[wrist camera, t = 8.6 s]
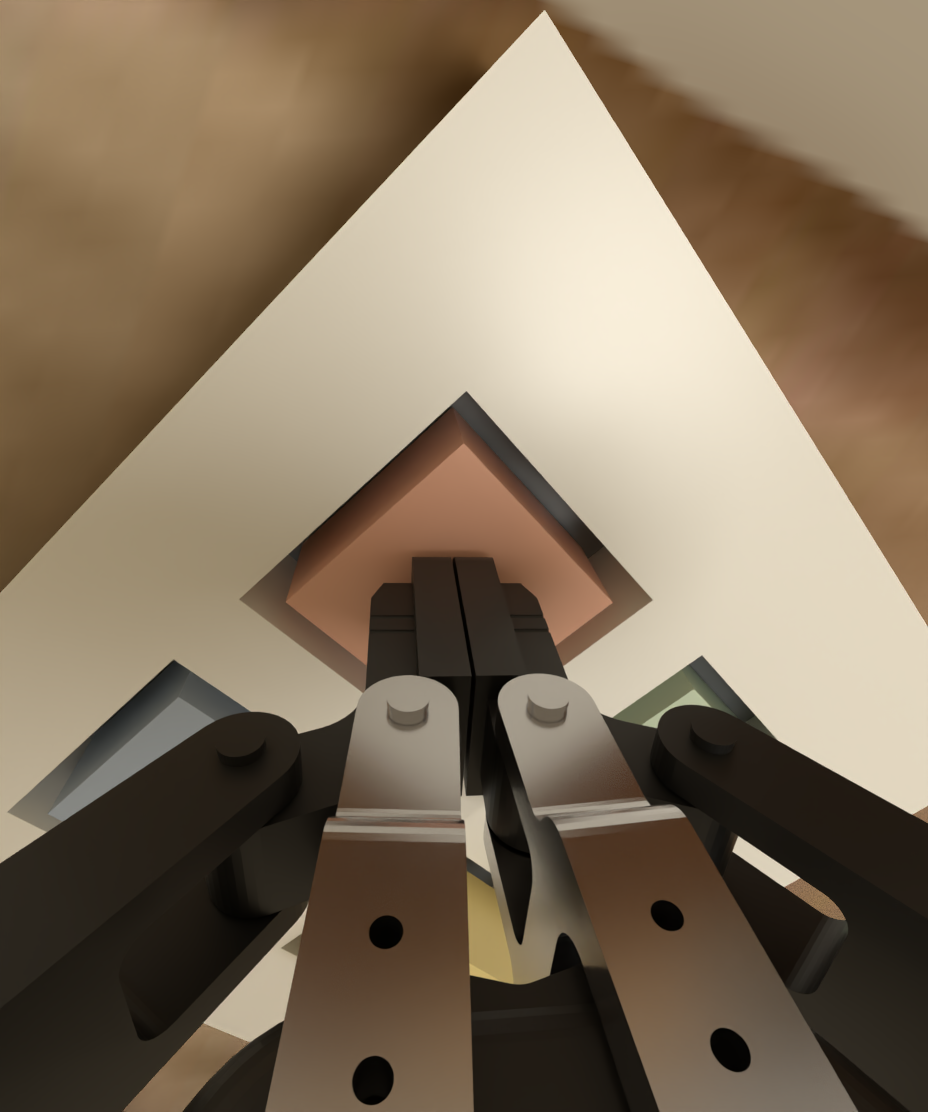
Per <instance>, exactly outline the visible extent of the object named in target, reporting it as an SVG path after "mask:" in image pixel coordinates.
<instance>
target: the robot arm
mask: <svg viewBox="0 0 928 1112" xmlns="http://www.w3.org/2000/svg"><path fill="white" fill-rule="evenodd" d="M463 777H464V785H465V793H466V796H480V795H483V798H484V804H485V811H486V814H485V824H484V834H483V840H484V846H485V850H486V855H487V859H488V863H489V867H490V872H491V876H492V880H493V885H494V889H495V893H496V898H497V902H498V906H499V911H500V915H501V919H502V924H503V928H504V932H505V936H506V941H507V945H508V949H509V954H510V959H511V964H512V971H513V982H514V984H510V983H506V982H501V981H496V980H491V979H486V978H482V977H477V976H472V975H470V966H469V931H468V896H467V862H466V832H465V822H464V820H461V796H462V788H463ZM738 836H739V837H740V838H742V839H743V840H745V841H746V842H748V843H749V844H751V845H752V846H754V847H755V848H757V849H758V850H760V851H761V852H763V853H764V854H766V855H767V856H769V857H770V858H772V859H773V860H775V861H776V862H778V863H779V864H781V865H782V866H784V867H785V868H787V869H788V870H790V871H791V872H792V873H794V874H795V875H797V876H798V877H800V878H801V879H803V880H804V881H806V882H807V883H809V884H810V885H812V886H813V887H815V888H816V889H818V890H819V891H821V892H822V893H824V894H825V895H826V896H828V897H829V898H830V899H831V900H832V901H833V902H834V903H835V904H836V905H837V906H838V907H839V909H840V910H841V912H842V913H843V915H844V917H845V919H846V920H837V919H833V918H830V917H828V916H826V915H824V914H822V913H821V912H819V911H818V910H816V909H815V908H813V907H812V906H810V905H809V904H808V903H806V902H805V901H803V900H802V899H800V898H799V897H797V896H796V895H795V894H793V893H792V892H790V891H789V890H787V889H786V888H784V887H783V886H782V885H780V884H779V883H777V882H776V881H774V880H773V879H771V878H770V877H769V876H767V875H766V874H764V873H763V872H761V871H760V870H758V869H757V868H756V867H754V866H753V865H751V864H750V863H748V862H747V861H746V860H744V859H743V858H741V857H740V856H738V855H737V854H735V853H734V852H733V849H734V846H735V844H736V841H737V838H738ZM307 905H308V907H307ZM306 907H307V912H306V917H305V922H304V926H303V931H302V936H301V941H300V946H299V951H298V956H297V960H296V965H295V970H294V975H293V980H292V985H291V989H290V994H289V999H288V1004H287V1009H286V1014H285V1019H284V1021H282V1022H280V1023H278V1024H277V1025H275V1026H274V1027H272V1028H270V1029H269V1030H267V1031H266V1032H264V1033H263V1034H261V1035H260V1036H258V1037H257V1038H255V1039H254V1040H253V1041H251V1042H250V1043H249V1044H248V1045H247V1046H245V1047H244V1048H243V1049H242V1050H240V1051H239V1052H238V1053H237V1054H236V1055H234V1056H233V1057H232V1058H231V1059H230V1060H229V1061H228V1062H227V1063H226V1064H225V1065H224V1066H223V1067H222V1068H221V1069H220V1070H219V1071H218V1072H217V1073H216V1074H215V1075H214V1076H213V1077H212V1078H211V1079H210V1080H209V1081H208V1082H207V1083H206V1084H205V1085H204V1086H203V1088H202V1089H201V1090H200V1091H199V1092H198V1093H197V1095H196V1096H195V1097H194V1098H193V1099H192V1101H191V1102H190V1103H189V1104H188V1106H187V1107H186V1108H185V1109H184V1111H183V1112H928V823H926V822H924V821H923V820H921V819H919V818H917V817H915V816H914V815H912V814H910V813H908V812H906V811H904V810H903V809H901V808H899V807H897V806H895V805H894V804H892V803H890V802H888V801H886V800H885V799H883V798H881V797H879V796H877V795H876V794H874V793H872V792H870V791H868V790H866V789H865V788H863V787H861V786H859V785H857V784H856V783H854V782H852V781H850V780H848V779H847V778H845V777H843V776H841V775H839V774H838V773H836V772H834V771H832V770H830V769H828V768H827V767H825V766H823V765H821V764H819V763H818V762H816V761H814V760H812V759H810V758H809V757H807V756H805V755H803V754H801V753H800V752H798V751H796V750H794V749H792V748H791V747H789V746H787V745H785V744H783V743H781V742H780V741H778V740H776V739H774V738H772V737H771V736H769V735H767V734H765V733H763V732H762V731H760V730H758V729H756V728H754V727H753V726H751V725H749V724H747V723H745V722H743V721H742V720H740V719H738V718H736V717H734V716H732V715H730V714H728V713H726V712H724V711H721V710H718V709H715V708H711V707H707V706H702V705H682V706H677V707H674V708H671V709H669V710H668V711H666V712H665V713H664V714H663V715H662V716H661V718H660V720H659V722H658V726H657V728H654V727H649V726H644V725H639V724H635V723H630V722H625V721H621V720H617V719H614V718H611V717H608V716H606V715H603V714H601V713H600V711H599V710H598V708H597V706H596V704H595V702H594V700H593V699H592V697H591V696H590V695H589V694H588V693H587V691H586V690H584V689H583V688H582V687H580V686H579V685H577V684H576V683H574V682H572V681H570V680H568V678H567V675H566V673H565V670H564V667H563V665H562V662H561V659H560V657H559V654H558V652H557V649H556V646H555V644H554V641H553V638H552V636H551V633H550V632H549V628H548V625H547V623H546V620H545V618H543V612H542V610H541V607H540V604H539V602H538V599H537V597H536V596H534V595H533V594H532V593H531V592H530V591H529V590H528V589H526V588H525V587H524V586H523V585H522V584H521V583H500V580H499V577H498V573H497V570H496V566H495V563H494V560H493V558H492V557H454V558H453V562H452V559H451V557H412V573H411V583H383V584H382V585H381V587H380V588H379V589H378V590H377V591H376V593H375V594H374V595H373V596H372V597H371V607H370V623H369V639H368V656H367V672H366V688H365V692H364V693H363V694H362V695H361V697H360V699H359V701H358V704H357V707H356V708H355V709H354V710H353V712H351V713H350V714H349V715H347V716H346V717H344V718H343V719H341V720H339V721H338V722H335V723H333V724H331V725H328V726H325V727H322V728H319V729H315V730H311V731H307V732H303V733H300V734H298V732H297V730H296V728H295V727H294V726H293V725H292V724H291V723H290V722H289V721H287V720H286V719H284V718H282V717H280V716H278V715H274V714H271V713H265V712H243V713H238V714H233V715H229V716H226V717H223V718H221V719H218V720H216V721H214V722H212V723H210V724H209V725H207V726H205V727H204V728H202V729H201V730H199V731H198V732H196V733H195V734H193V735H192V736H190V737H189V738H187V739H186V740H184V741H183V742H181V743H180V744H178V745H177V746H175V747H174V748H172V749H171V750H169V751H168V752H166V753H165V754H163V755H162V756H160V757H159V758H157V759H156V760H154V761H153V762H151V763H150V764H148V765H147V766H145V767H144V768H142V769H141V770H139V771H138V772H136V773H135V774H133V775H132V776H130V777H129V778H127V779H126V780H124V781H123V782H121V783H120V784H118V785H117V786H115V787H114V788H112V789H111V790H109V791H108V792H106V793H105V794H103V795H102V796H100V797H99V798H97V799H96V800H94V801H93V802H91V803H90V804H88V805H87V806H85V807H84V808H82V809H81V810H79V811H78V812H76V813H75V814H73V815H72V816H70V817H69V818H67V819H66V820H64V821H63V822H61V823H60V824H58V825H57V826H55V827H54V828H52V829H51V830H49V831H48V832H46V833H45V834H43V835H42V836H40V837H39V838H37V839H36V840H34V841H33V842H31V843H30V844H28V845H27V846H25V847H24V848H22V849H21V850H19V851H18V852H16V853H15V854H13V855H12V856H10V857H9V858H7V859H6V860H4V861H3V862H1V863H0V1112H122V1111H123V1109H124V1108H125V1107H126V1106H127V1105H128V1104H129V1103H130V1102H131V1101H132V1100H133V1099H134V1097H135V1096H136V1095H137V1094H138V1093H139V1092H140V1091H141V1090H142V1089H143V1088H144V1087H145V1086H146V1084H147V1083H148V1082H149V1081H150V1080H151V1079H152V1078H153V1077H154V1076H155V1075H156V1074H157V1073H158V1071H159V1070H160V1069H161V1068H162V1067H163V1066H164V1065H165V1064H166V1063H167V1062H168V1061H169V1060H170V1058H171V1057H172V1056H173V1055H174V1054H175V1053H176V1052H177V1051H178V1050H179V1049H180V1048H181V1047H182V1045H183V1044H184V1043H185V1042H186V1041H187V1040H188V1039H189V1038H190V1037H191V1036H192V1035H193V1033H194V1032H195V1031H196V1030H197V1029H198V1028H199V1027H200V1026H201V1025H202V1024H203V1023H204V1022H205V1020H206V1019H207V1018H208V1017H209V1016H210V1015H211V1014H212V1013H213V1012H214V1011H215V1010H216V1009H217V1007H218V1006H219V1005H220V1004H221V1003H222V1002H223V1001H224V1000H225V999H226V998H227V997H228V996H229V994H230V993H231V992H232V991H233V990H234V989H235V988H236V987H237V986H238V985H239V984H240V982H241V981H242V980H243V979H244V978H245V977H246V976H247V975H248V974H249V973H250V972H251V971H252V969H253V968H254V967H255V966H256V965H257V964H258V963H259V962H260V961H261V960H262V959H263V958H264V956H265V955H266V954H267V953H268V952H269V951H270V950H271V949H272V948H273V947H274V946H275V945H276V943H277V942H278V941H279V940H280V939H281V938H282V937H283V936H284V935H285V934H286V933H287V932H288V930H289V929H290V928H291V927H292V926H293V925H294V924H295V923H296V922H297V921H298V919H299V918H300V917H301V915H302V914H303V913H304V911H305V909H306Z"/></svg>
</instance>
